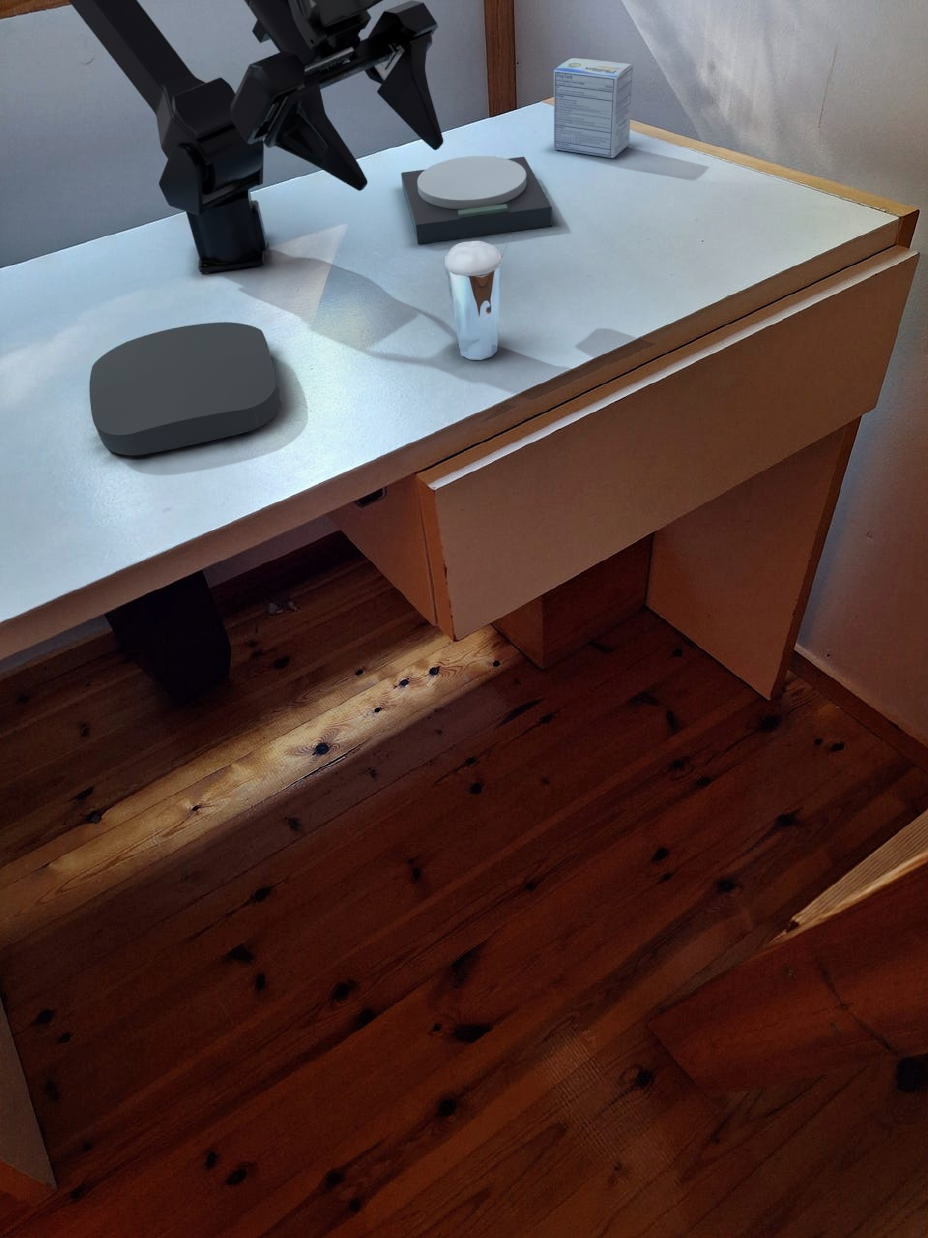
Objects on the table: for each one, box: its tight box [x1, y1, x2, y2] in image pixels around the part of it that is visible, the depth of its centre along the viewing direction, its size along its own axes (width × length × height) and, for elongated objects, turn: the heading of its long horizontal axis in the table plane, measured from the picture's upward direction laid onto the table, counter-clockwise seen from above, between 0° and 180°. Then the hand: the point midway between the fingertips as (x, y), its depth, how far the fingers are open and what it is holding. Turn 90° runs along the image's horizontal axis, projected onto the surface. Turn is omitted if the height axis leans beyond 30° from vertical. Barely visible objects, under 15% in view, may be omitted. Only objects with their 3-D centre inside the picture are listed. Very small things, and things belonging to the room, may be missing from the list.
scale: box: [400, 155, 553, 245], centre depth 96 cm, size 14×14×3 cm
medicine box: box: [553, 57, 634, 159], centre depth 103 cm, size 8×4×9 cm, turn 57°
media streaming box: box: [88, 321, 282, 456], centre depth 74 cm, size 15×15×3 cm
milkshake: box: [444, 234, 512, 361], centre depth 74 cm, size 4×5×10 cm
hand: (403, 166), depth 72 cm, fingers open, 9 cm apart
